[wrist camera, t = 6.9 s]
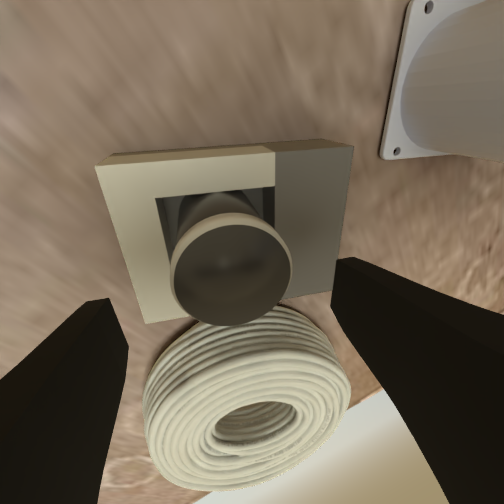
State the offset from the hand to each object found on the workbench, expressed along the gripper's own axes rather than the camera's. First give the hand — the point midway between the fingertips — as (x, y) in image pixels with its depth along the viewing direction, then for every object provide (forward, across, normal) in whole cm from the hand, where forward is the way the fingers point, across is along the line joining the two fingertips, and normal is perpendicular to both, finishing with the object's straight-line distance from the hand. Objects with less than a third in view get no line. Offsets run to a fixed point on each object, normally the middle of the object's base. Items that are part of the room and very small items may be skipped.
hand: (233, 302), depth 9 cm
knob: (+8, 0, 0) cm, 8 cm away
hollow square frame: (+9, -1, +1) cm, 10 cm away
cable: (+10, -1, +17) cm, 20 cm away
